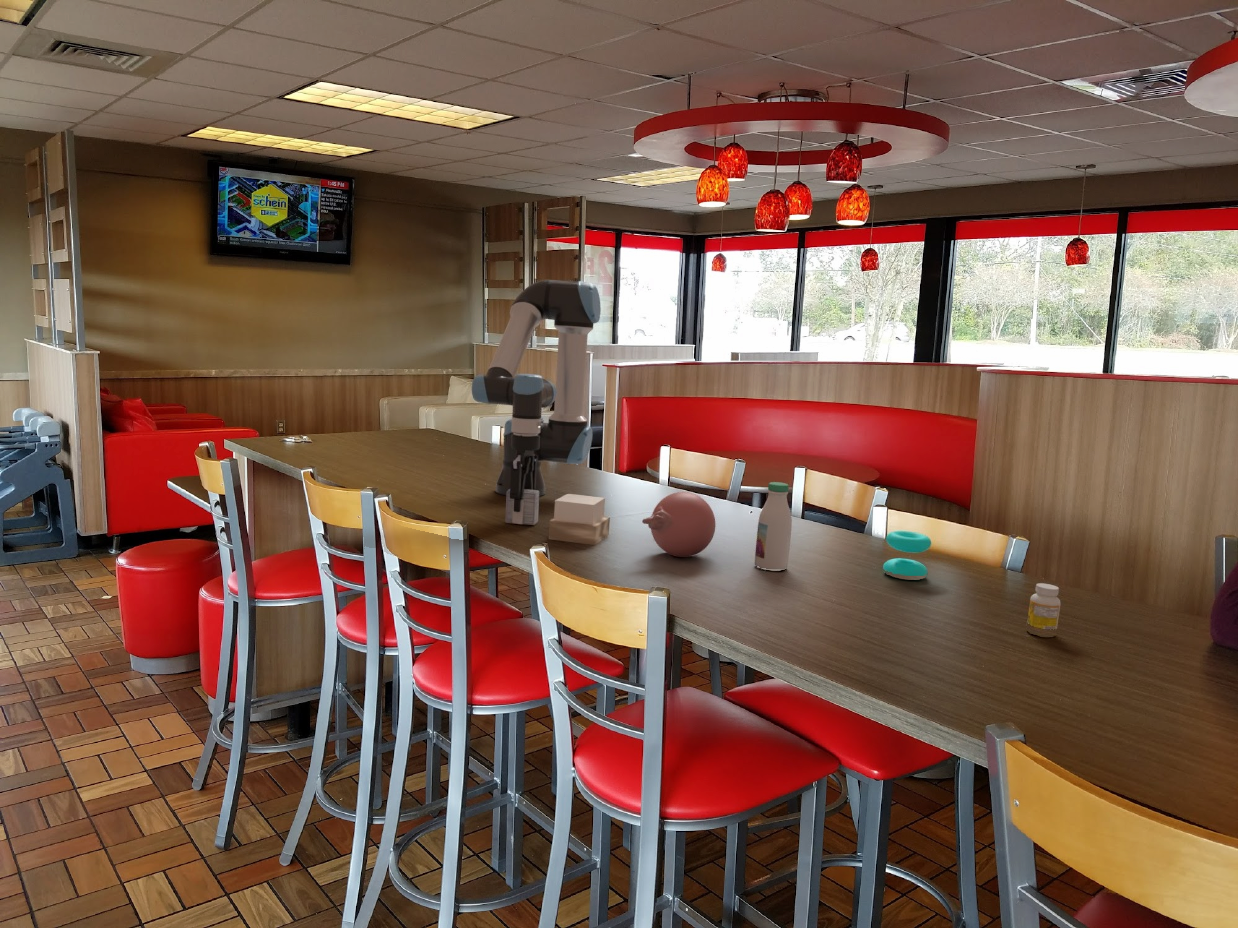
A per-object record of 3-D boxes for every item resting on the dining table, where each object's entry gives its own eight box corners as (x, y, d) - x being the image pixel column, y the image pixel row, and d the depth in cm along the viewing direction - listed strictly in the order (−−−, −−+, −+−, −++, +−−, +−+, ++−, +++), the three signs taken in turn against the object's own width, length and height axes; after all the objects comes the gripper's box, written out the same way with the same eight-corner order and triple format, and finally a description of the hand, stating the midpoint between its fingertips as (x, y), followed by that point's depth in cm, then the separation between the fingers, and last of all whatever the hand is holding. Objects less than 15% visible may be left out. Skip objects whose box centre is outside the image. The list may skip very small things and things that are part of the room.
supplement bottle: (1051, 640, 175) (1058, 592, 173) (1022, 633, 178) (1028, 585, 177) (1059, 634, 179) (1066, 586, 177) (1030, 627, 182) (1037, 580, 181)
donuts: (909, 528, 220) (941, 538, 211) (904, 569, 221) (936, 580, 213) (877, 530, 215) (909, 540, 206) (873, 571, 217) (904, 583, 208)
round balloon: (619, 552, 219) (624, 489, 217) (685, 545, 230) (690, 485, 228) (658, 569, 207) (663, 502, 204) (726, 560, 218) (731, 497, 215)
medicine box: (538, 522, 244) (539, 490, 243) (534, 525, 240) (536, 493, 239) (509, 519, 245) (510, 487, 244) (504, 522, 241) (506, 490, 240)
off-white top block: (566, 512, 237) (567, 493, 237) (603, 517, 235) (605, 497, 234) (554, 520, 228) (555, 500, 227) (592, 524, 225) (593, 504, 224)
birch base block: (564, 530, 239) (565, 511, 238) (608, 536, 236) (609, 517, 235) (548, 540, 228) (549, 520, 227) (594, 546, 225) (596, 526, 224)
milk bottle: (790, 566, 217) (798, 483, 213) (784, 574, 209) (793, 488, 206) (757, 561, 219) (765, 479, 216) (751, 569, 212) (758, 484, 209)
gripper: (526, 439, 229) (521, 530, 233) (551, 431, 246) (547, 516, 250) (498, 436, 231) (494, 526, 235) (525, 428, 248) (521, 513, 252)
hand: (521, 521), depth 243 cm, fingers closed on medicine box, 5 cm apart
